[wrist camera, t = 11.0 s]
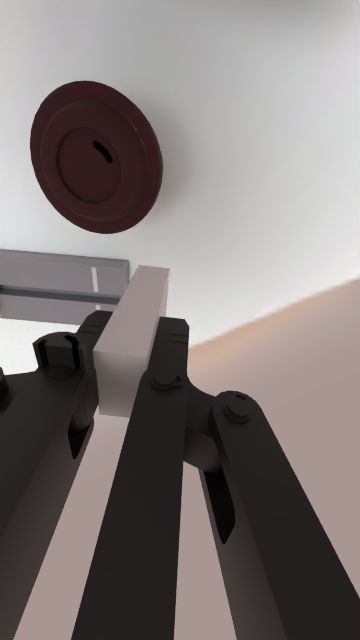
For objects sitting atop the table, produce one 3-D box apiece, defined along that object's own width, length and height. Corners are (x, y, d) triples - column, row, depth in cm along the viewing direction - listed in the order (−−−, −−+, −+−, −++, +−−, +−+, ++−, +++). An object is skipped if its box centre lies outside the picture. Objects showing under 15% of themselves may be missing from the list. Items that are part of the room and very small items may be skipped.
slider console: (-37, 246, 38) (-54, 252, 35) (128, 260, 37) (122, 268, 35) (-14, 306, 43) (-28, 315, 40) (130, 319, 43) (125, 329, 40)
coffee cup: (107, 214, 34) (53, 248, 22) (78, 122, 29) (-13, 94, 16) (180, 200, 33) (170, 227, 20) (164, 101, 28) (136, 53, 15)
